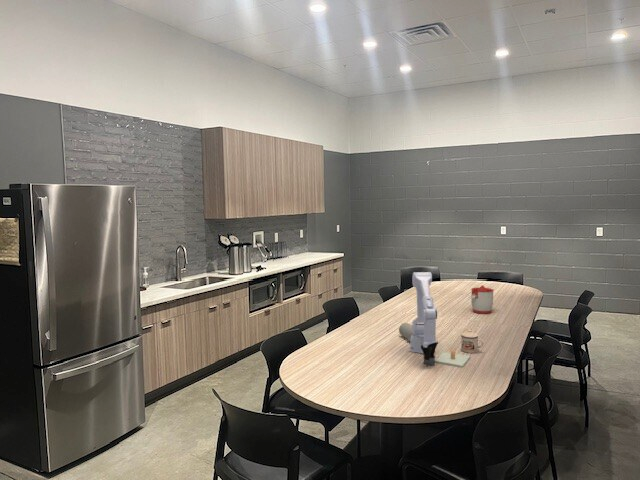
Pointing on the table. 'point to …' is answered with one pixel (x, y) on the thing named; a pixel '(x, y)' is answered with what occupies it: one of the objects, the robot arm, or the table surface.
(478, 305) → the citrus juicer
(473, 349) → the teacup with lid
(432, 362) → the collar
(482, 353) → the table surface
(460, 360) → the pegged green plate
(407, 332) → the bent grey cylinder
